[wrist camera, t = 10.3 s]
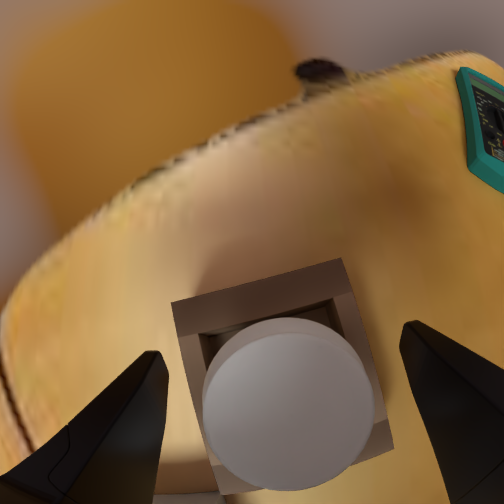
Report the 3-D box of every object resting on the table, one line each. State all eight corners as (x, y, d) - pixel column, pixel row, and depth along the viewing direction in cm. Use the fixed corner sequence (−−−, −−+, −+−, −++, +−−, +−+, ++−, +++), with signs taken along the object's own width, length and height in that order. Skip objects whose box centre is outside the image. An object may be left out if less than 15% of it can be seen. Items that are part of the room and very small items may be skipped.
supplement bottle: (262, 316, 16) (246, 258, 7) (350, 360, 15) (438, 355, 6) (213, 400, 15) (136, 444, 6) (301, 446, 14) (328, 537, 5)
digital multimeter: (464, 179, 19) (481, 158, 17) (452, 78, 24) (461, 59, 21) (524, 210, 18) (543, 195, 15) (503, 105, 22) (513, 89, 20)
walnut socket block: (375, 435, 14) (394, 448, 11) (229, 475, 14) (220, 495, 11) (330, 274, 17) (341, 257, 14) (187, 312, 17) (170, 302, 14)
